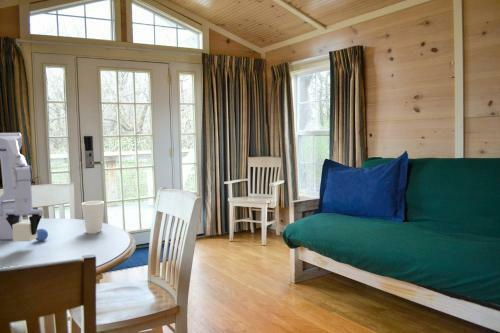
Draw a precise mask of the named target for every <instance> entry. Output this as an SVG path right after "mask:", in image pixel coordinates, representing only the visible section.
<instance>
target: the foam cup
mask: <svg viewBox="0 0 500 333" xmlns="http://www.w3.org/2000/svg"><path fill="white" fill-rule="evenodd" d="M80 205H81V211H82V216H83V221H84V227H85V228H84V229H85V232H86V234H98V233H97V232H99V233H101V232H102V231H103V220H104V219H103V218H104V209H105V201H104V200H89V201H84V202H81V204H80ZM101 230H102V231H101ZM100 231H101V232H100Z"/></svg>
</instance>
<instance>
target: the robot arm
mask: <svg viewBox="0 0 500 333" xmlns="http://www.w3.org/2000/svg"><path fill="white" fill-rule="evenodd" d="M22 136H23V135H22V134H21V132H19V131H18V132H0V168H1V179H2V192H3V193H2V194H1V195H0V240H3V241H4V240H13V228H12V225H13V224H16V223H19V222H22V217H23V216H29V217H28V220H29V221H30V223H31V233H32V235H34V234H36V232H37V230H38V226H39V223H40V222H41V219H42V218H43V216H44V215H45V214H46V213H45V212H46V211H45V209H41V208H40V209H37V208H33V196H32V195H33V193H32V181H33V178H34V174H33V173H34V172H33V168H32V166H31V165H30V164H28V162H27V160H26V157H25V155H23V154H21V153H20V151H21V147H22V146H23V137H22Z"/></svg>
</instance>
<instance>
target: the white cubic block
mask: <svg viewBox="0 0 500 333" xmlns="http://www.w3.org/2000/svg"><path fill="white" fill-rule="evenodd" d="M12 228H13V239H12V242H13V243H14V242H15V243H17V242H31V241H34V240H36V239H35V238H37V232H36V234H34V235H32V233H31V223H30V220H29V221H26V220H25V221H21V222H19V223H16V224H13V225H12Z"/></svg>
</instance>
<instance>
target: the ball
mask: <svg viewBox="0 0 500 333" xmlns="http://www.w3.org/2000/svg"><path fill="white" fill-rule="evenodd" d="M48 236H49V234H48V231H47V229H45V228H37V238H35V239H34V240H36V241H37V242H43V241H46V240H47V238H48Z"/></svg>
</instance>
